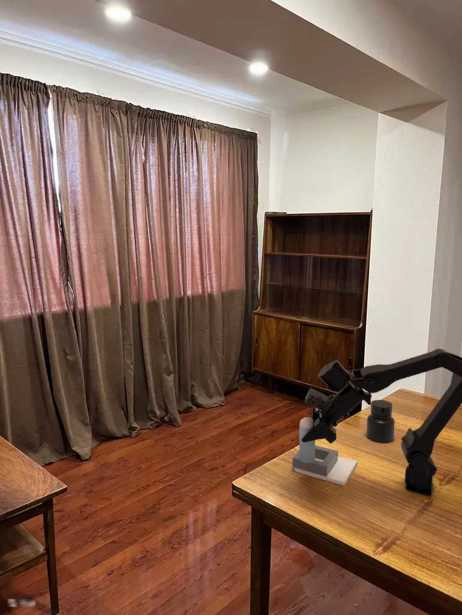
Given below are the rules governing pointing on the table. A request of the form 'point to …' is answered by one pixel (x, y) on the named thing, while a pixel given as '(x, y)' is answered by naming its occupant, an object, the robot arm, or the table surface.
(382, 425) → the ink bottle
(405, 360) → the robot arm
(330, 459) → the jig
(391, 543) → the table surface
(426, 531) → the table surface
